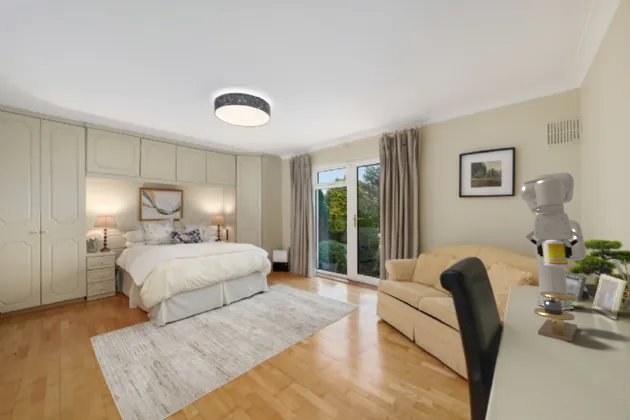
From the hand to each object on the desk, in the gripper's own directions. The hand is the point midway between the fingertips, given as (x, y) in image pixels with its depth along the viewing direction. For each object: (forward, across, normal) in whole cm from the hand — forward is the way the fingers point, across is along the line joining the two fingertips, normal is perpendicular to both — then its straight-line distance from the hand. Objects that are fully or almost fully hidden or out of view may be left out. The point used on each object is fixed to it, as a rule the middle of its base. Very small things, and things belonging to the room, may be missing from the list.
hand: (554, 256), depth 94 cm
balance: (+26, 0, -6) cm, 27 cm away
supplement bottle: (+4, 0, 0) cm, 4 cm away
